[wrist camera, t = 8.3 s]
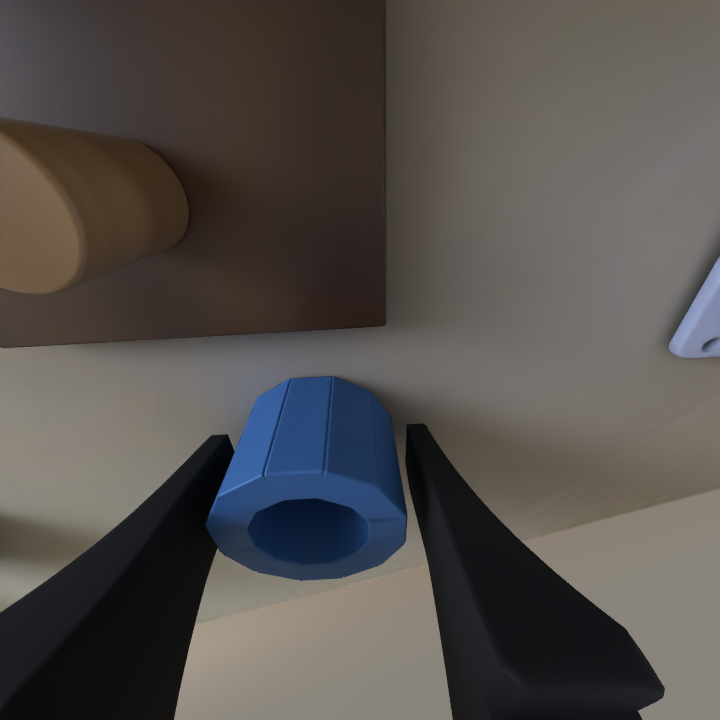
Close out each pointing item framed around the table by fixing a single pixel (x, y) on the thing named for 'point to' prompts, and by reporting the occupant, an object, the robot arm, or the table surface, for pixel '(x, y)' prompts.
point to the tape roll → (312, 484)
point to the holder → (190, 168)
